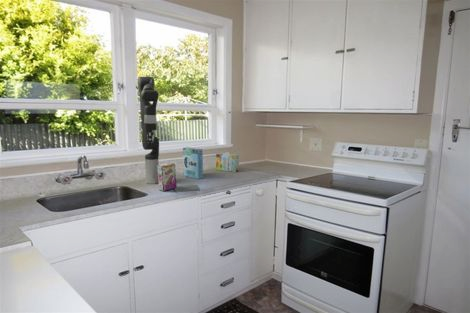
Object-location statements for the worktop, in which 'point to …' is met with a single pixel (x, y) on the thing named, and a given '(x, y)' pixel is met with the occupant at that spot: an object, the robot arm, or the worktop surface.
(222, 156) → the snack box
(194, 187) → the mat
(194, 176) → the gum box
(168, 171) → the candy bar box
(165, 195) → the worktop surface
